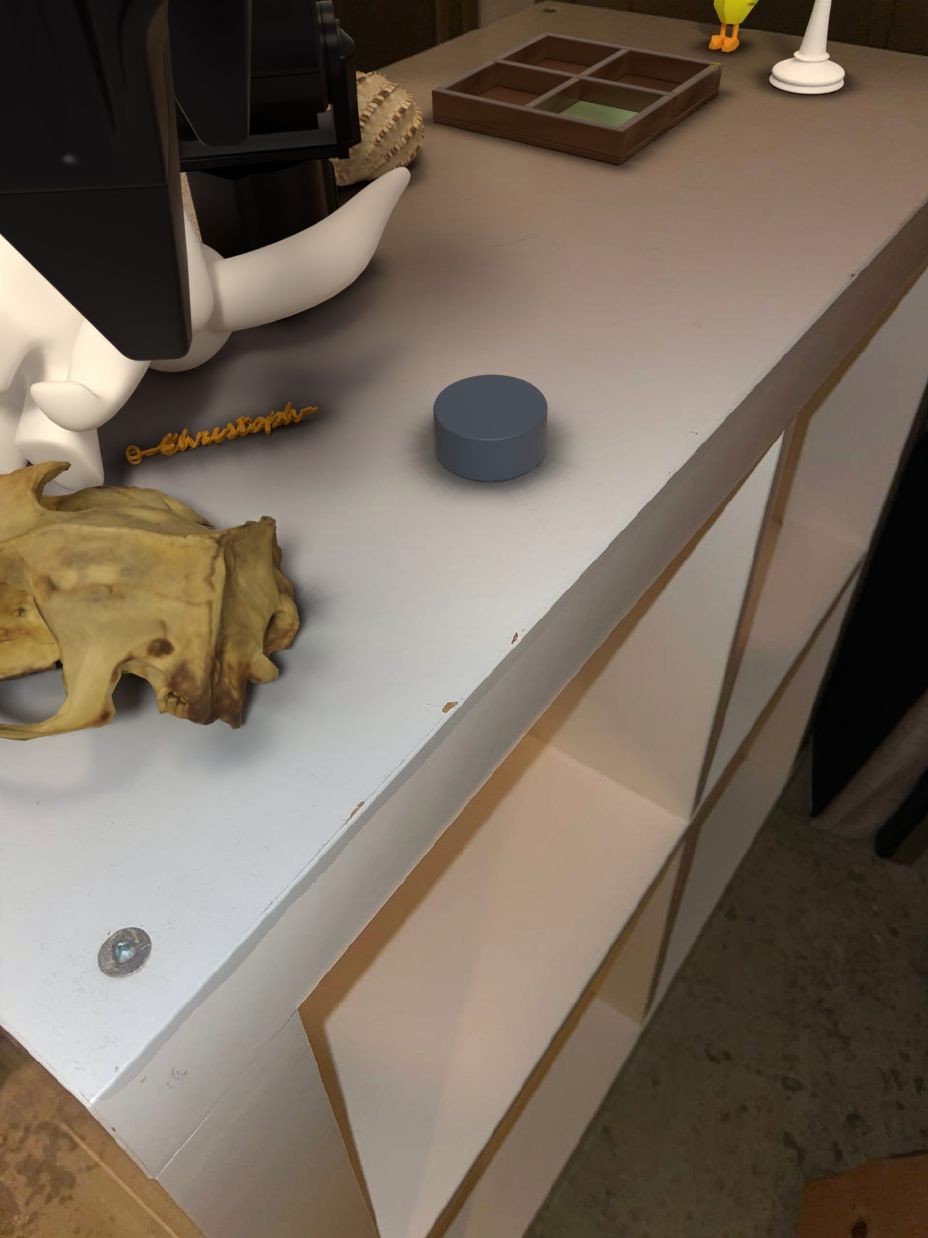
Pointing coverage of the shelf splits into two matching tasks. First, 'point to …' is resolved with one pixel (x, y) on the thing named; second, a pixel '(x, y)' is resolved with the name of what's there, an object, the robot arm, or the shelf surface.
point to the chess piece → (810, 60)
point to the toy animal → (105, 379)
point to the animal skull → (135, 600)
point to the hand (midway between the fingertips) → (198, 232)
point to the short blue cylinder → (490, 427)
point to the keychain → (218, 437)
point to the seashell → (381, 131)
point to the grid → (578, 95)
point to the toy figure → (730, 21)
